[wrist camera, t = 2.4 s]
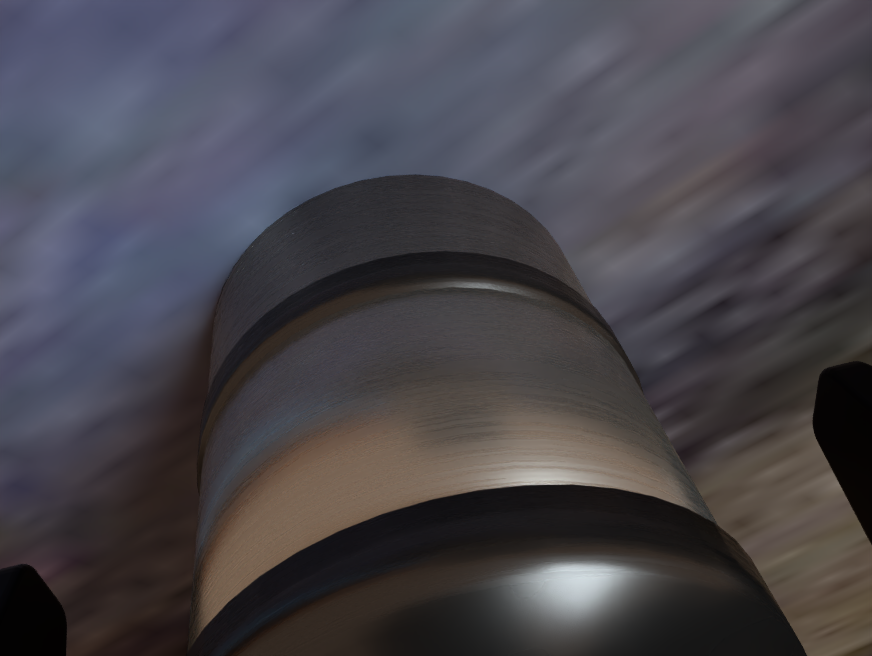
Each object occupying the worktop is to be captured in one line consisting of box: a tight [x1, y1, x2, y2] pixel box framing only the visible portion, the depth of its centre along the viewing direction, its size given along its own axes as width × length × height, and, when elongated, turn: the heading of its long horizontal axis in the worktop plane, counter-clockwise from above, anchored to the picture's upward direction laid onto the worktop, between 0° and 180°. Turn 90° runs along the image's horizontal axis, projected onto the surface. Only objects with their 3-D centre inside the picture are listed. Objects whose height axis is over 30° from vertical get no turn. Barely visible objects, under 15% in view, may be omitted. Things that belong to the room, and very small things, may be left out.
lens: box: [186, 175, 807, 656], centre depth 9 cm, size 5×5×6 cm
